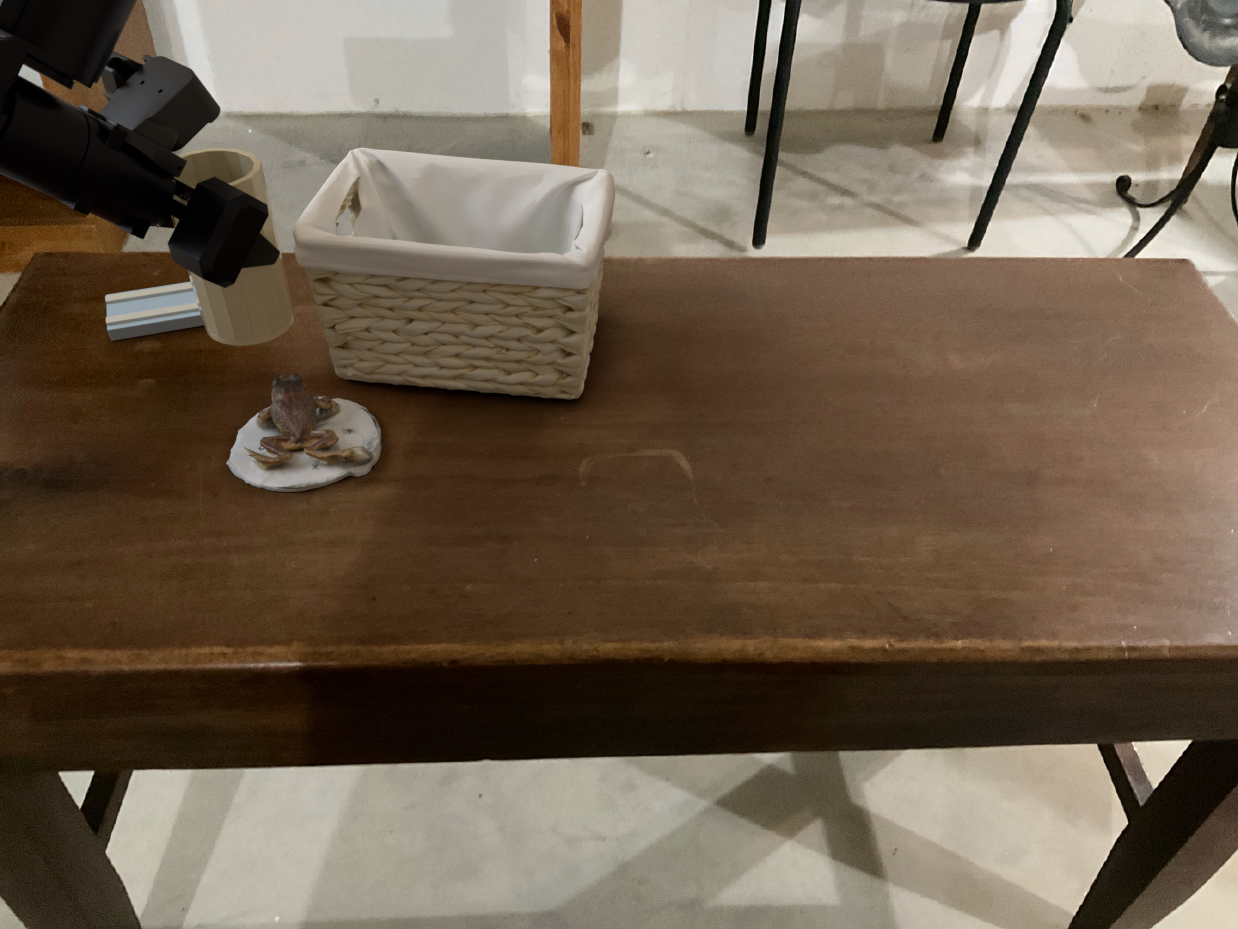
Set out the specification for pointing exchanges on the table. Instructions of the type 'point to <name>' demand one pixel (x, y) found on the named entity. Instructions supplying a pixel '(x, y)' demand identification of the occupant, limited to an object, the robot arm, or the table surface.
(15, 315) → the table surface
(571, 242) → the basket
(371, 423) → the frog figurine
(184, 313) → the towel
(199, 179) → the cup
